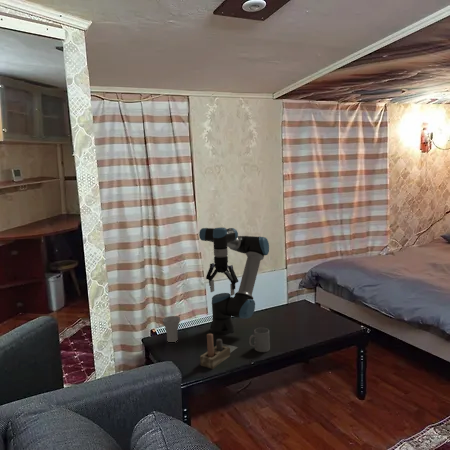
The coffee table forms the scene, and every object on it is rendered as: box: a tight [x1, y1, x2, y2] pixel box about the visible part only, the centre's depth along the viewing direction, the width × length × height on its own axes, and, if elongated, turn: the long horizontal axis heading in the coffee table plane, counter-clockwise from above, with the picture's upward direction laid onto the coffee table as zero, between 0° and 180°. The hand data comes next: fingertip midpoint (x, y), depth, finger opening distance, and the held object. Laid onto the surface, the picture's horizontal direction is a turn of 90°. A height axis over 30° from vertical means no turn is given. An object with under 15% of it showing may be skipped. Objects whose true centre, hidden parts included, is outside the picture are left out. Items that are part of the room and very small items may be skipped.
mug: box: [248, 327, 271, 353], centre depth 229 cm, size 12×8×11 cm
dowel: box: [206, 333, 215, 358], centre depth 214 cm, size 3×3×16 cm
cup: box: [162, 315, 181, 343], centre depth 245 cm, size 10×10×14 cm
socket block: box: [199, 338, 231, 370], centre depth 218 cm, size 8×16×10 cm, turn 146°
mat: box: [222, 343, 239, 354], centre depth 232 cm, size 10×10×1 cm
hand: (222, 293), depth 230 cm, fingers open, 13 cm apart
